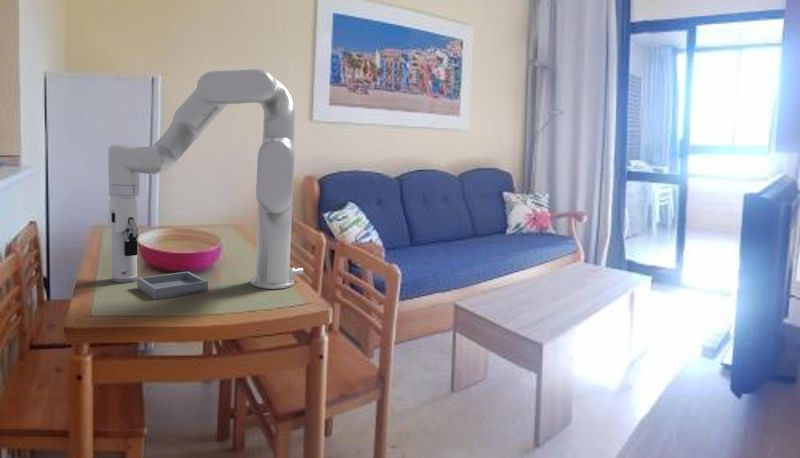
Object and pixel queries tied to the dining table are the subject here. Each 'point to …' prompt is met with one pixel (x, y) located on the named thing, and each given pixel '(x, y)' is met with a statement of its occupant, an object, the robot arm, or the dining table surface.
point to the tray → (172, 285)
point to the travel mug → (122, 258)
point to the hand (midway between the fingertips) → (124, 251)
